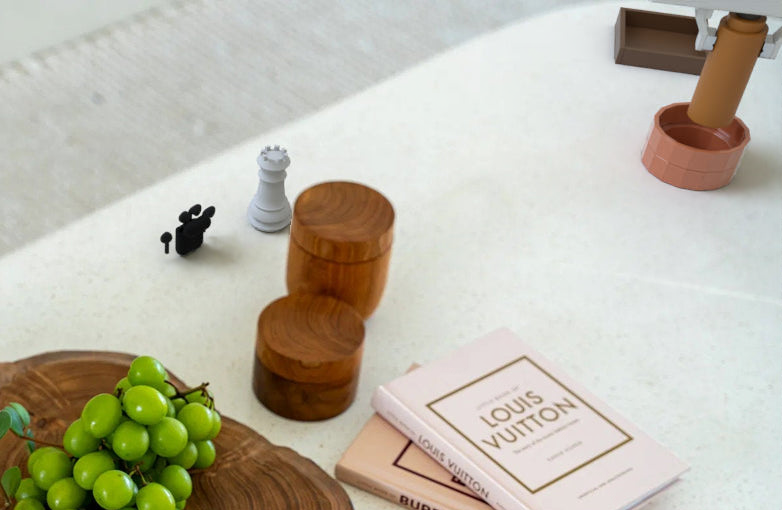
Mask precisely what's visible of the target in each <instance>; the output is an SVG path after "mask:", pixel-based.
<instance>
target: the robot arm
mask: <svg viewBox="0 0 782 510" xmlns="http://www.w3.org/2000/svg"><path fill="white" fill-rule="evenodd" d="M648 1H649V2H650V3H653V4H663V5H670V6H678V7H687V8H694V17H695V18H696V21H697V25H698V28H699V33H698V36H697V38H696V43H695V49H696V50H700V51H709V52H712V50H713V44H714V43H715V42H716V39H717V33H716V31H717V27H712V26H709V24H708V25H707V21H706V19H708V20H711V19H712V17H713V14H714V11H721V12H728V13H729V12H737V13H746V14H754V15H763V16H767V17H772V18H781V19H782V0H648ZM708 26H709V27H708ZM781 46H782V25H781V26H780V27H778V29H776V30H775V31H774V32H773V33H771V34H770V33H767V36H766V38H765V41H764V43H763V46H762V48H761V51H760V53H759V56H758V58H759V59H766V60H776V58H777V56H778V54H779V51H780V49H781ZM758 58H757V59H758Z"/></svg>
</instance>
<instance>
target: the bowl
mask: <svg viewBox="0 0 782 510" xmlns="http://www.w3.org/2000/svg"><path fill="white" fill-rule="evenodd" d="M690 103H691V101H684V102H673V103H670V104H667V105H664V106H662V107H660V108H659V109H658V111H656V113H655V114H654V115H653V118H652V120H651V122H650V123H651V124H650V126H649V129H648V131H647V135H646V138H645V140H644V142H643V145H642V148H641V151H640V155H641V157H640V160H641V161H640V162H641V163H642V165H643V166H644V167H645V169H646V171H647V172H648V173H650V174H651V175H652V176H654V177H655V178H657V179H658V180H659V181H661V182H663V183H666V184H668V185H671V186H674V187H676V188H680V189H686V190H690V191H691V190H692V191H698V192H700V191H712V190H713V191H714V190H718V189H720V188H722V187H726V186H728V185H729V184H730V183H731V182H732V180H733V179H734V178H735V176H736V174H737V173H738V170H739V167H740V165H741V164H742V161H743V158H744V155H745V153H746V151H747V149H748V147H749V145H750V142H751V140H752V139H751V131H750V128H749V127H748V125H746V123H745V122H744V121H743V120H742V119H741V117H738V116H737V115H735V116H734V119H733V121H732V123H731V124H730V125H728V126H726V127H722V128H710V127H705V126H702V125H699V124H697V123H695V122H694V121H692V120H691V119H690V118H689V116H688V114H687V111H688V108H689V105H690Z"/></svg>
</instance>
